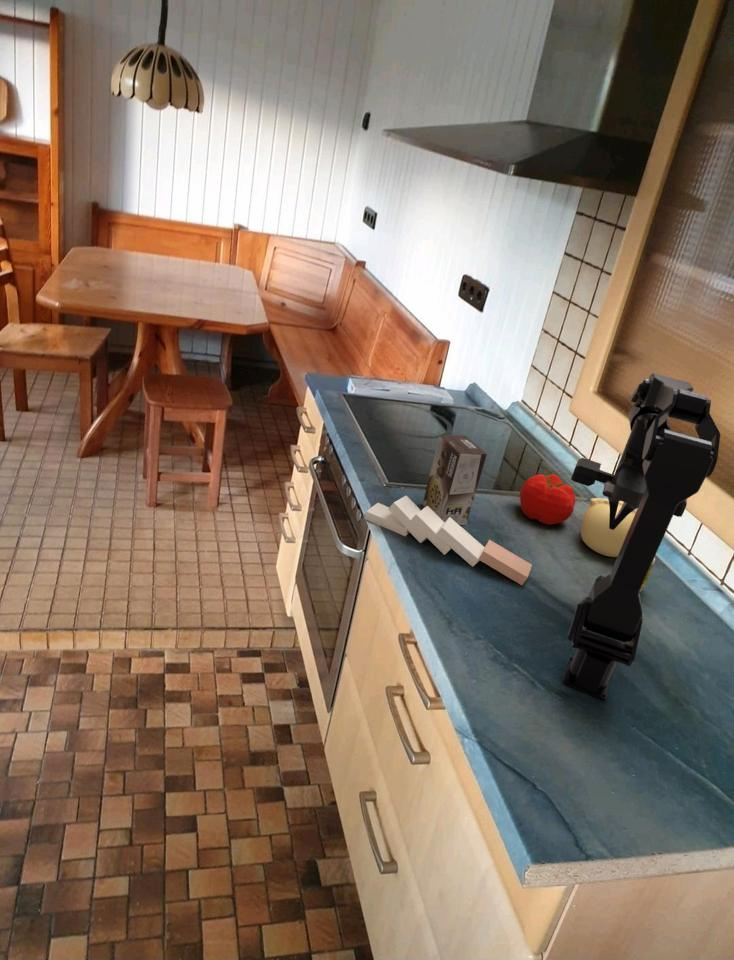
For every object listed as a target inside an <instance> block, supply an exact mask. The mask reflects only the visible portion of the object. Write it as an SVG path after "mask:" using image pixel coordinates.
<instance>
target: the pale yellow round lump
mask: <svg viewBox="0 0 734 960" xmlns="http://www.w3.org/2000/svg"><path fill="white" fill-rule="evenodd" d="M589 501H590V504H589V506H588V507H587V509H586V510H585V512H584V513H583V518H582V521H581V526H580V535H581V539H582V541H583V542H584V544H585V545H586V546H587V547H588V548H590V549H591V550H592V551H594V552H596V553H598V554H600V555H602V556H605V557H611V558H617V557H618V554H619V552H620V550H621V547H622V545H623V542H624V540H625V538H626V535H627V533H628V530H629V528H630V526H631V523H632V521H633V518H634V516H635V514H636V511H637V509H635V510H633V511H632V512H631V513H630V514H628V515H627V516H626V517H625V518H624V519H623V521H622V522H621V523H620V524H619V525H618V526H617V527H616V528H615V529H614V530H612V529H609V517H610V507H609V500H608V498H603V497H601V498H600V497H592V498H590V500H589ZM623 503H624V502H623V501H619V504H618V508H617V512H616V516H617V514H618V512H619V511H620V509H621V507H622V505H623ZM615 518H616V517H615Z"/></svg>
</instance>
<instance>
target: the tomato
mask: <svg viewBox="0 0 734 960" xmlns="http://www.w3.org/2000/svg"><path fill="white" fill-rule="evenodd" d="M519 499H520V500H519V502H520V509H521V510H522V511H523V513H524V515H525V516H526V517H527V518H528V519H529V520H532V521H539V522H540V523H541V524H545V525H547V526H549V525H557V524H560V523H563V522H565V521H566V520H568V519H569V518H570V517H571V516H572V514H573V513H574V510H575V503H576V493H575V492H574V490H573V489H572V487H571V486H570V485H569V484H565V483H564V482H563V480H561V478H560V477H559V476H558V475H555V474H553V473H552V474H549V475H547V473H545V475H544V474H541V473H540V474H536V475H534V476H531V477H530V478H528V479H527V480H526V481H524V483H523V484H522V486H521V488H520V492H519Z"/></svg>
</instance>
